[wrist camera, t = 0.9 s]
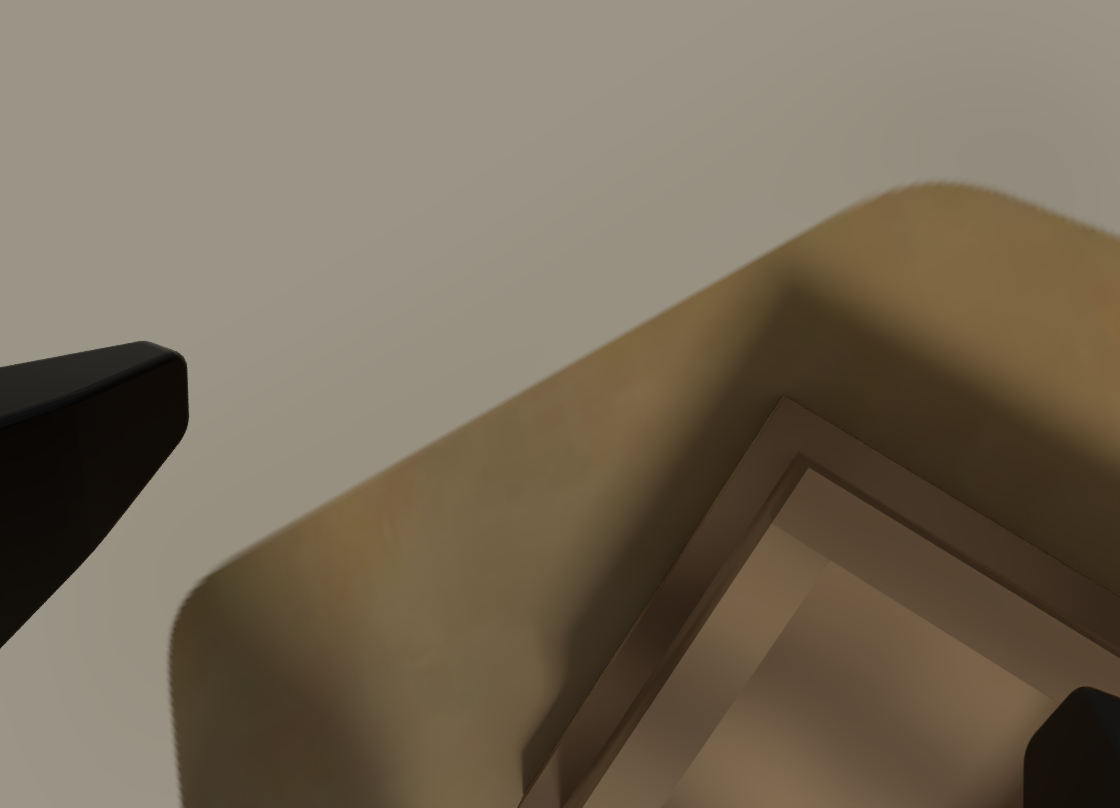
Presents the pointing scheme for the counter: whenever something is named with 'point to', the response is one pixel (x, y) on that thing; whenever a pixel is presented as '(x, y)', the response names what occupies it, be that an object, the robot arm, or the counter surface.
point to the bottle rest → (835, 648)
